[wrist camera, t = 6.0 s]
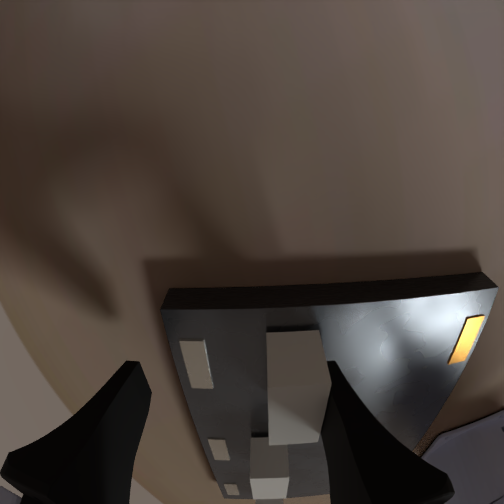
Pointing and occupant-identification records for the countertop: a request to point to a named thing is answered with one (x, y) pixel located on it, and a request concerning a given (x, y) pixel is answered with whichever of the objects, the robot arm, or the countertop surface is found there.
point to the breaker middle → (268, 469)
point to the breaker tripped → (296, 386)
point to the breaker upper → (269, 501)
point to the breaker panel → (335, 348)
